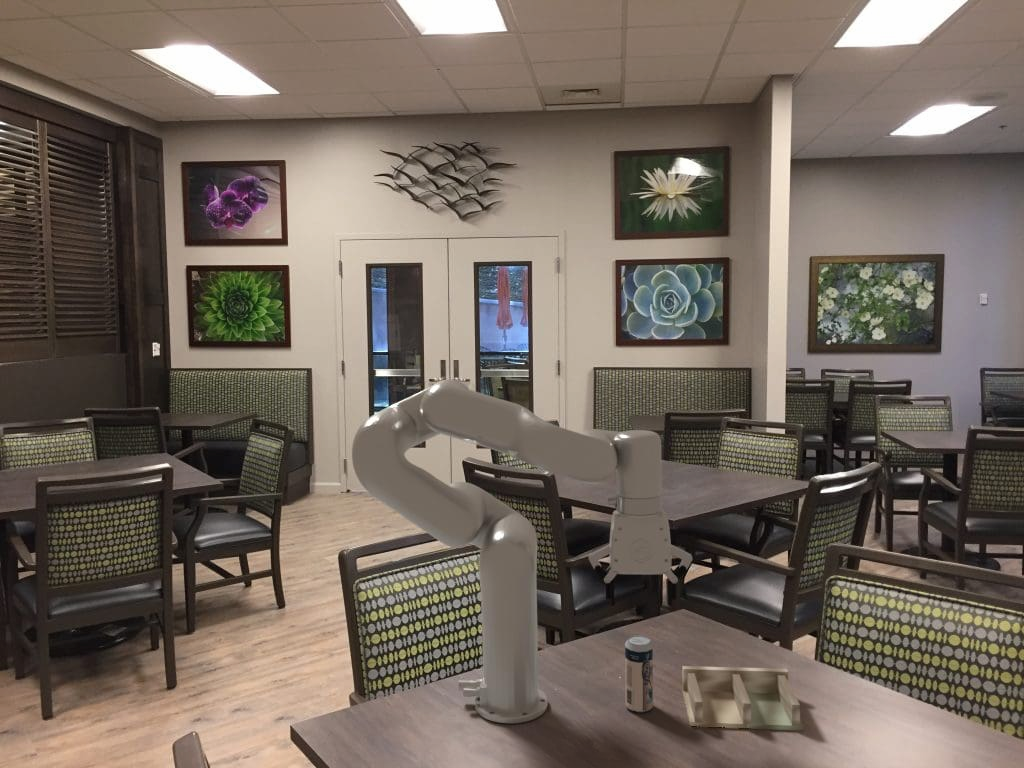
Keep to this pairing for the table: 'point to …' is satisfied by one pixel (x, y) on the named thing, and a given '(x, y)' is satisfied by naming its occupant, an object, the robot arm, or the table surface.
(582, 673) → the table surface
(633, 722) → the table surface
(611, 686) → the table surface
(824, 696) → the table surface
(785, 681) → the comb rack
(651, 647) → the beer can
